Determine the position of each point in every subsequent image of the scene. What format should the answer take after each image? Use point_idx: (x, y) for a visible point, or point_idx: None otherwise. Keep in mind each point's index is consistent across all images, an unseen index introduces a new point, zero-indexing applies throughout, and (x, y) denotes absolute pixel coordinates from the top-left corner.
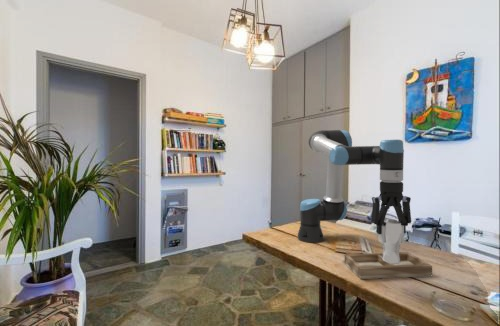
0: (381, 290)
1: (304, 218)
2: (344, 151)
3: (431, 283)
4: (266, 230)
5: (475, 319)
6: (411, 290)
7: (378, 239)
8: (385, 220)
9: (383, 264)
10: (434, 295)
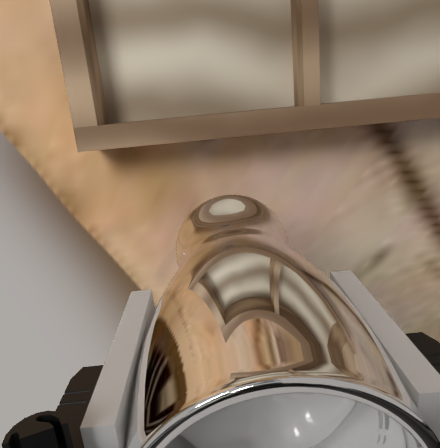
0: (158, 248)
1: None
2: None
3: (430, 184)
4: None
5: None
6: (292, 246)
7: (128, 303)
8: (259, 368)
9: (292, 3)
10: (361, 280)
